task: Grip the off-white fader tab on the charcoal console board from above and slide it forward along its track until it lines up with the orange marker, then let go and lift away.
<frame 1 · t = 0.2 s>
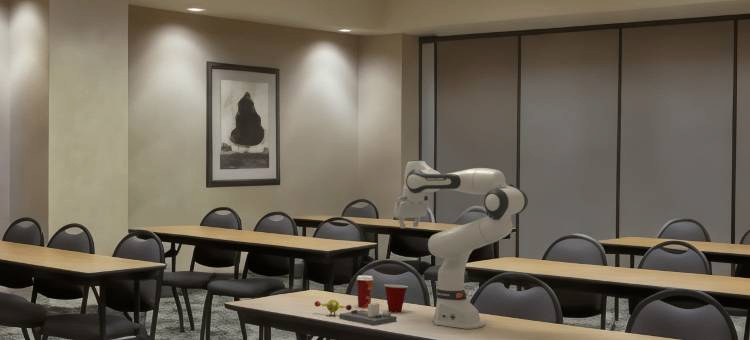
hand: (408, 227, 417), 39 cm above the table, tool pointing down, fingers open, 8 cm apart
toy figure: (332, 315, 411), on the table
fader: (373, 309, 399), point 5 cm above the table, slide at 1.0 cm
plastic cup: (395, 311, 425), on the table
paper cup: (364, 307, 435), on the table
console: (367, 319, 402), on the table
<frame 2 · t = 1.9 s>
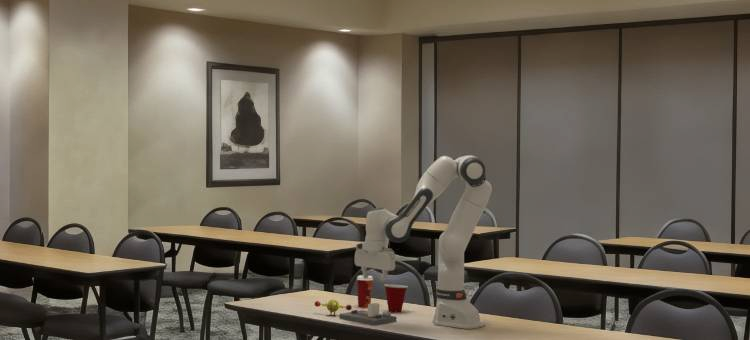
hand: (374, 279, 399), 18 cm above the table, tool pointing down, fingers open, 8 cm apart
nothing on the table moved.
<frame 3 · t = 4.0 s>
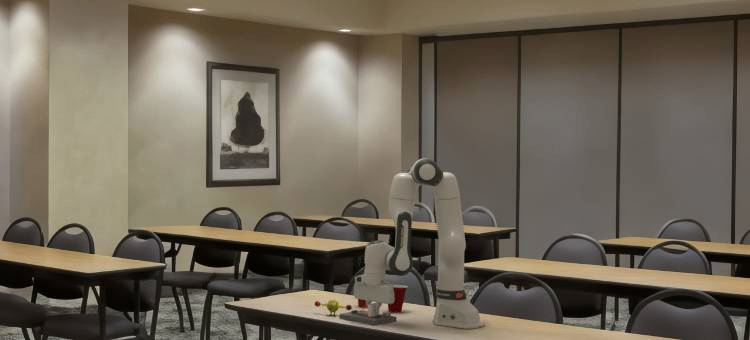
hand: (373, 311, 399), 4 cm above the table, tool pointing down, fingers closed on fader, 2 cm apart
fader: (373, 309, 399), point 5 cm above the table, slide at 1.0 cm, touching gripper
everything else where it was.
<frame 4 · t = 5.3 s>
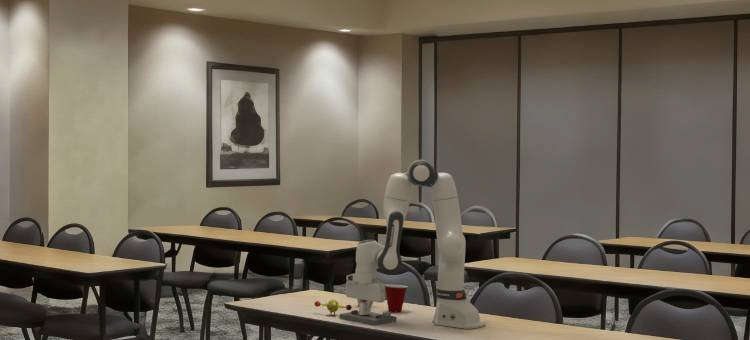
hand: (364, 310, 402), 4 cm above the table, tool pointing down, fingers closed on fader, 2 cm apart
fader: (365, 308, 402), point 5 cm above the table, slide at 5.9 cm, touching gripper
everything else where it was.
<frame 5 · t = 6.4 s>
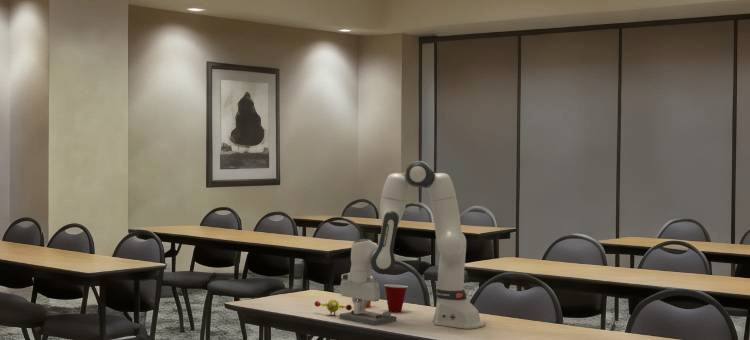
hand: (359, 309, 404), 4 cm above the table, tool pointing down, fingers closed on fader, 2 cm apart
fader: (359, 307, 404), point 5 cm above the table, slide at 9.0 cm, touching gripper
everything else where it was.
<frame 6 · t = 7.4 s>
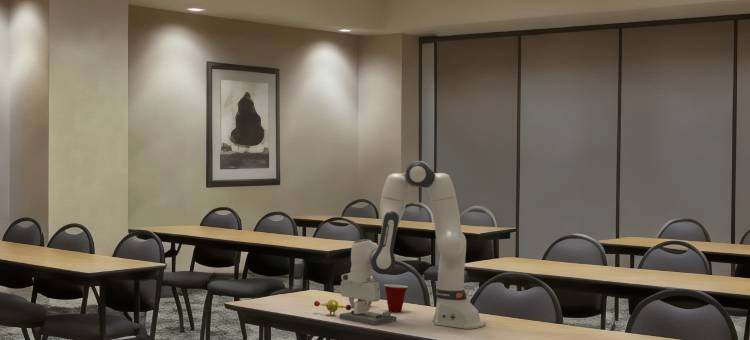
hand: (359, 309, 404), 4 cm above the table, tool pointing down, fingers open, 6 cm apart
toy figure: (332, 315, 411), on the table, touching gripper
fader: (359, 307, 404), point 5 cm above the table, slide at 9.0 cm
everything else where it was.
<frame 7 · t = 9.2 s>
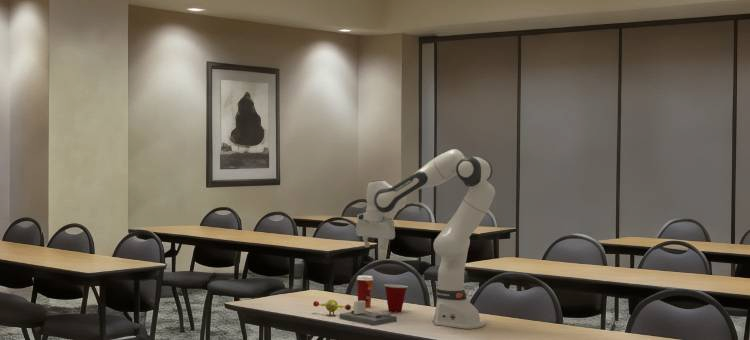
hand: (375, 248, 419), 29 cm above the table, tool pointing down, fingers open, 8 cm apart
toy figure: (331, 315, 411), on the table
everything else where it was.
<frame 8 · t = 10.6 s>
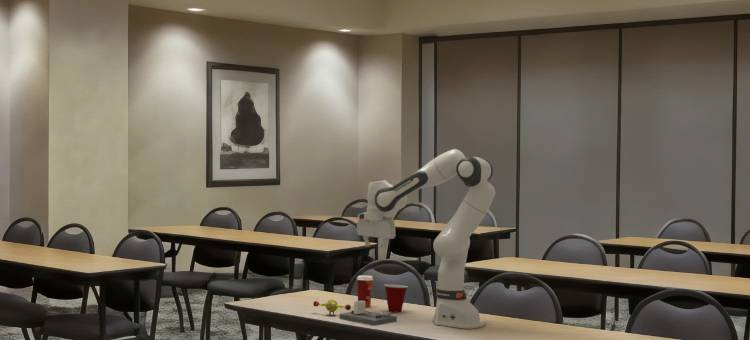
hand: (375, 247, 419), 29 cm above the table, tool pointing down, fingers open, 8 cm apart
nothing on the table moved.
at the end: fader slide at 9.0 cm; the gripper is holding nothing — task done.
